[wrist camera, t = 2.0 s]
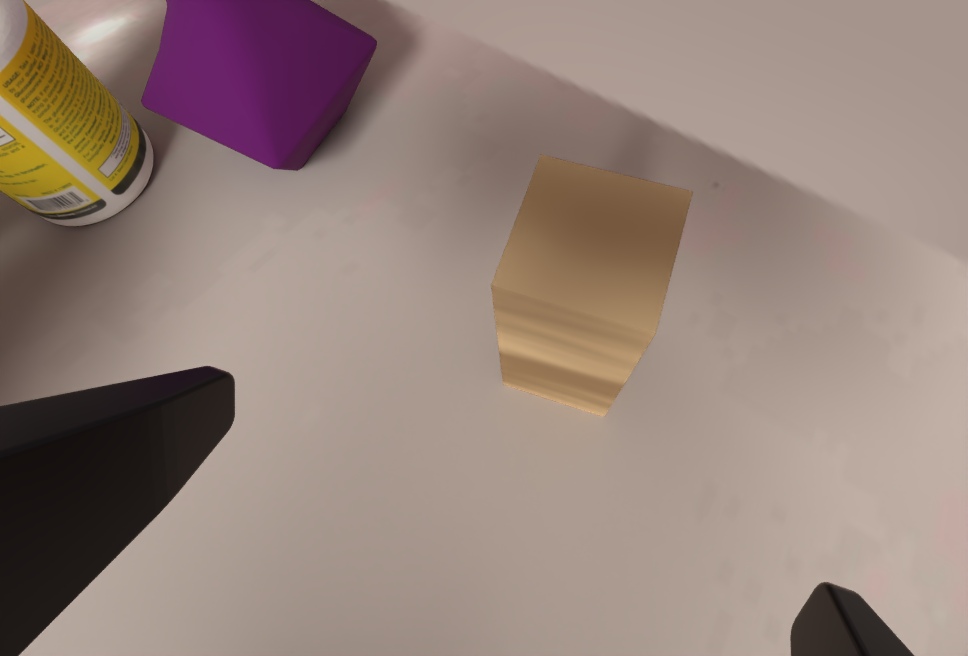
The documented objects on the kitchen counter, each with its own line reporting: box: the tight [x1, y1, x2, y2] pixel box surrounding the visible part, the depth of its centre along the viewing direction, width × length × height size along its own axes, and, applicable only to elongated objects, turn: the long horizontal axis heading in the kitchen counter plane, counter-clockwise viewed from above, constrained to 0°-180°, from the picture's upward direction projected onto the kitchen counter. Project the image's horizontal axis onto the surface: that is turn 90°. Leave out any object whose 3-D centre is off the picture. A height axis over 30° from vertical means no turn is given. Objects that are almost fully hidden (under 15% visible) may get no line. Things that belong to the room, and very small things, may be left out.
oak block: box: [491, 155, 693, 417], centre depth 18 cm, size 4×4×9 cm
